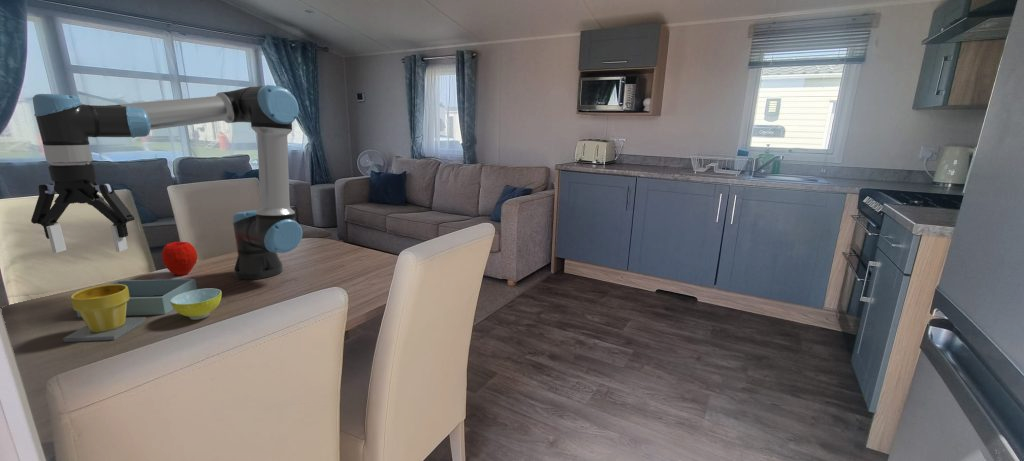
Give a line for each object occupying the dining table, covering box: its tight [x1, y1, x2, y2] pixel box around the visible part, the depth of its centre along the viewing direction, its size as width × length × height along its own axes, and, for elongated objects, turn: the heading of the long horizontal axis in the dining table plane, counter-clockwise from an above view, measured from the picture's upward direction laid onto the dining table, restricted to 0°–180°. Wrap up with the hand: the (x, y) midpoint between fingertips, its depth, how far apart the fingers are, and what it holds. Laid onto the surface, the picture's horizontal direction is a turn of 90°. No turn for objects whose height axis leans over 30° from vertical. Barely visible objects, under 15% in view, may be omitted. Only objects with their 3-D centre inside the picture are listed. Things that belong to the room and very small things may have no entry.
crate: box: [76, 278, 198, 318], centre depth 123 cm, size 22×15×5 cm
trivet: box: [62, 316, 147, 343], centre depth 107 cm, size 11×11×1 cm
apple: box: [161, 241, 198, 276], centre depth 148 cm, size 10×10×12 cm
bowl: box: [171, 287, 223, 321], centre depth 116 cm, size 11×12×6 cm
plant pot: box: [70, 283, 131, 332], centre depth 106 cm, size 10×10×10 cm
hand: (91, 250), depth 103 cm, fingers open, 13 cm apart
